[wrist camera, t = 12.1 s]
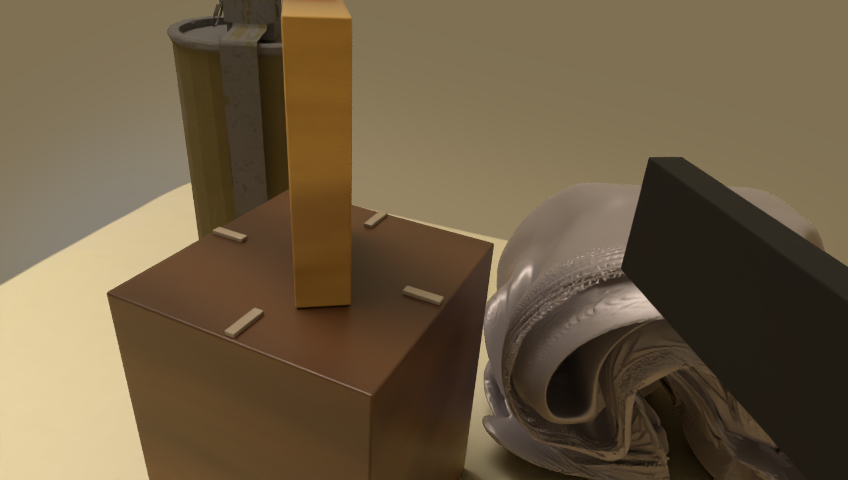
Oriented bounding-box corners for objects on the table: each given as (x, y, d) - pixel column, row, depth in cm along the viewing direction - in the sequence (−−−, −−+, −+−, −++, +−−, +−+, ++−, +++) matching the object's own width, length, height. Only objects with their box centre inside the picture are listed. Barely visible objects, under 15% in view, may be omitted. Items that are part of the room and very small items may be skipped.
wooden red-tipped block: (350, 305, 20) (352, 7, 15) (295, 308, 19) (280, 4, 15) (340, 227, 25) (338, -18, 20) (295, 229, 24) (283, -21, 20)
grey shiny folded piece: (799, 401, 38) (857, 170, 34) (990, 653, 22) (1147, 266, 18) (486, 361, 42) (503, 146, 38) (448, 553, 25) (470, 209, 21)
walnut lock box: (365, 658, 22) (372, 392, 16) (163, 544, 26) (104, 287, 20) (464, 467, 31) (495, 239, 24) (300, 399, 34) (289, 184, 28)
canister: (218, 230, 51) (187, -30, 41) (343, 232, 52) (342, -21, 42) (181, 305, 41) (131, -11, 32) (336, 306, 42) (332, 0, 32)
